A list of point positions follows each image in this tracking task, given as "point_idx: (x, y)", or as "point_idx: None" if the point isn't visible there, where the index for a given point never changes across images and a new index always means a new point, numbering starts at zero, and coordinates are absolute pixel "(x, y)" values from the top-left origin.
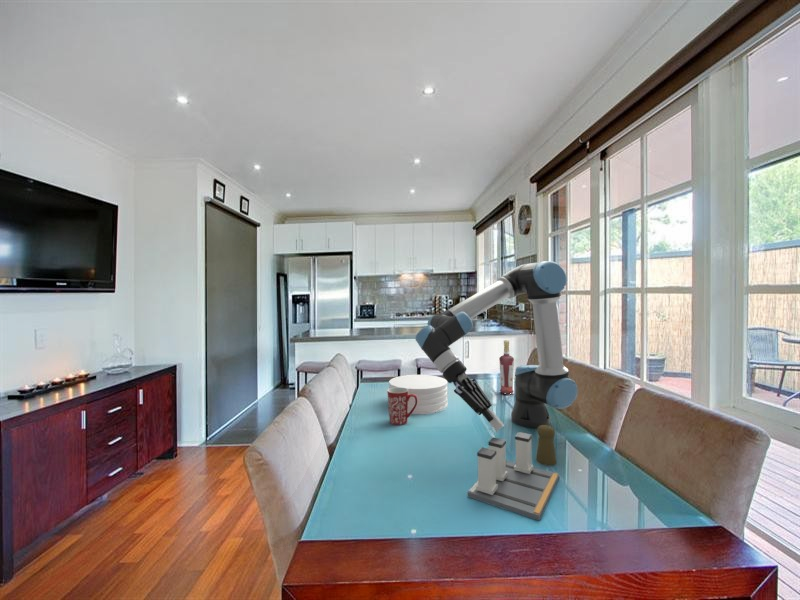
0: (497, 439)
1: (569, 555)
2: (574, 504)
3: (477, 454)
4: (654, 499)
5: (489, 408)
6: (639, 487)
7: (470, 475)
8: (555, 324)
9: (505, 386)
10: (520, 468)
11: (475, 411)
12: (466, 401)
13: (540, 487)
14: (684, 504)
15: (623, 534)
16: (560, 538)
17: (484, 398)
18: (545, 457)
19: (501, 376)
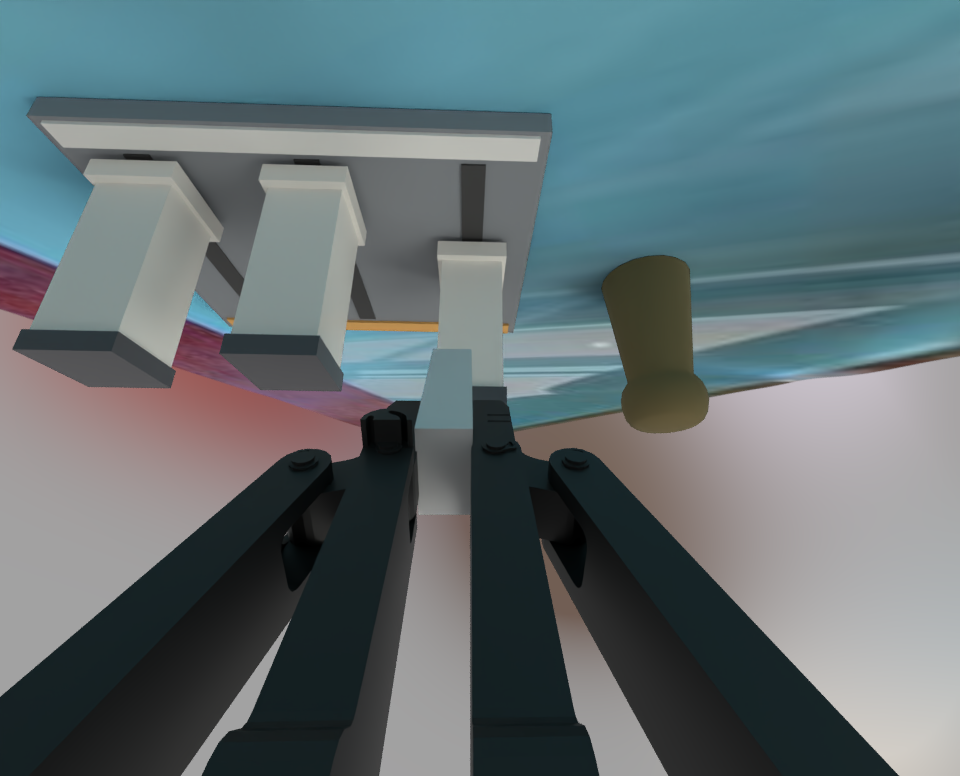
0: (310, 371)
1: (187, 353)
2: (385, 348)
3: (18, 340)
4: (511, 409)
5: (449, 510)
6: (552, 401)
7: (238, 5)
8: None
9: None
10: (439, 273)
11: (271, 474)
12: (100, 636)
13: (381, 311)
14: (517, 424)
15: (346, 389)
16: (219, 342)
17: (575, 592)
18: (609, 311)
19: None
